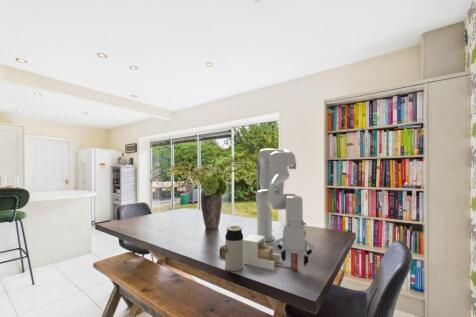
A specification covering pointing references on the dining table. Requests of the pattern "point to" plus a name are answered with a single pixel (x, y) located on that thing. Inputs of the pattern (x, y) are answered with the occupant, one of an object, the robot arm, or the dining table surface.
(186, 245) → the dining table surface
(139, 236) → the dining table surface
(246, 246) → the white l-shaped block
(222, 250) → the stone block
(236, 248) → the travel mug
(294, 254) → the oak block with cord
